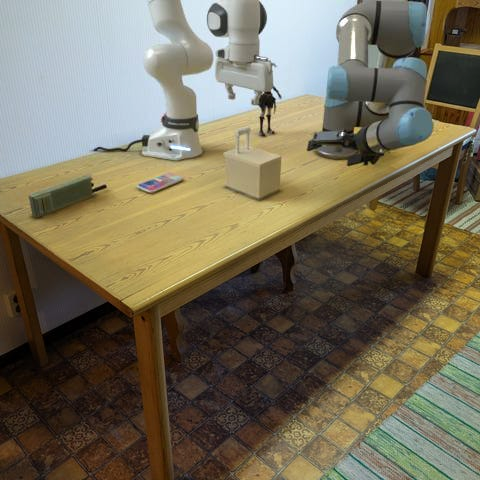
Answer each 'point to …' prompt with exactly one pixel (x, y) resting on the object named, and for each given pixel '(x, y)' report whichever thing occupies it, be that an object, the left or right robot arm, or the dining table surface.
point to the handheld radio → (62, 195)
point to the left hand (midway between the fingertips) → (243, 102)
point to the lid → (250, 152)
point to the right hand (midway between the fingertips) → (329, 153)
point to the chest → (252, 178)
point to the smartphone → (159, 182)
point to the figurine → (267, 102)
